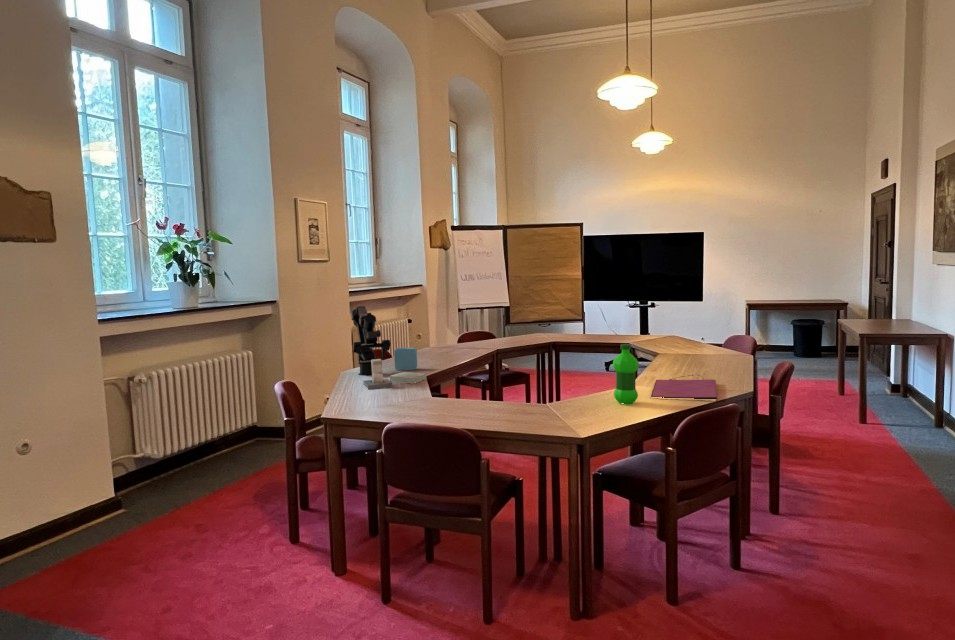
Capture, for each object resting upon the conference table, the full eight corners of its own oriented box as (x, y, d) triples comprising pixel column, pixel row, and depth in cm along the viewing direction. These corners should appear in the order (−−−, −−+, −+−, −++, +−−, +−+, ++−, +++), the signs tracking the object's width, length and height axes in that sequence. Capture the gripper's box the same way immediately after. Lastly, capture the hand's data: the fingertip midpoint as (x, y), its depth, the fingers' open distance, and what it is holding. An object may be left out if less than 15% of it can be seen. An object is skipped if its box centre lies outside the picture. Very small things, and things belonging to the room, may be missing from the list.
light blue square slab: (417, 368, 372) (416, 347, 371) (416, 370, 368) (415, 348, 366) (396, 368, 373) (395, 347, 372) (395, 370, 368) (394, 349, 367)
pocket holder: (363, 384, 332) (363, 380, 332) (387, 382, 336) (387, 378, 335) (367, 389, 320) (367, 385, 320) (392, 386, 324) (392, 382, 324)
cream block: (372, 385, 329) (371, 359, 328) (381, 384, 331) (380, 358, 329) (374, 387, 325) (372, 361, 324) (383, 386, 327) (382, 360, 325)
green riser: (390, 381, 337) (389, 375, 337) (404, 377, 348) (404, 371, 347) (412, 384, 330) (412, 378, 330) (426, 379, 340) (426, 373, 340)
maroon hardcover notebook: (717, 393, 277) (650, 392, 285) (717, 403, 277) (650, 401, 286) (715, 374, 314) (656, 373, 323) (715, 382, 315) (657, 381, 323)
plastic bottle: (614, 400, 285) (614, 342, 282) (639, 401, 281) (639, 343, 279) (611, 405, 276) (611, 346, 273) (637, 406, 272) (637, 346, 269)
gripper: (352, 326, 333) (356, 351, 323) (389, 324, 339) (394, 348, 330) (350, 340, 341) (355, 364, 332) (386, 337, 347) (391, 361, 338)
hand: (374, 359), depth 332 cm, fingers open, 9 cm apart
